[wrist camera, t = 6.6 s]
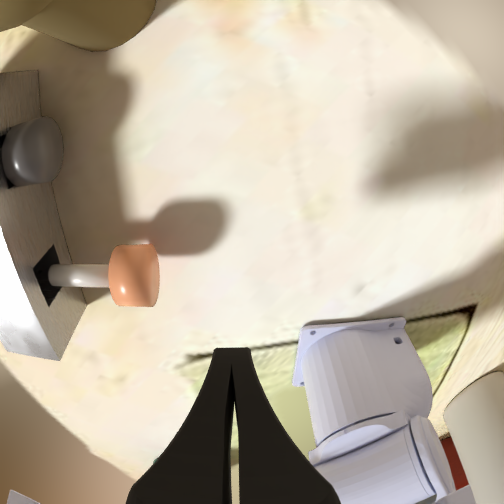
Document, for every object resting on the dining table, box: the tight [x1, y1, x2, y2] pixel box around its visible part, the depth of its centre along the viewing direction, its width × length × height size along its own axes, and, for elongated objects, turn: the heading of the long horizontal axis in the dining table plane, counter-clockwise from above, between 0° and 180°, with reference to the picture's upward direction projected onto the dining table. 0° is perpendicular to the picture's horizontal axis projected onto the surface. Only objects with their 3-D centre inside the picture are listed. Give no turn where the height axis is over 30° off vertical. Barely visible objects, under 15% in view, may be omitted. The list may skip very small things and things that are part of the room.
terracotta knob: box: [48, 244, 160, 307], centre depth 17 cm, size 7×4×4 cm, turn 90°
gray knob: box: [0, 116, 63, 187], centre depth 13 cm, size 7×4×4 cm, turn 90°
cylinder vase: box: [443, 371, 504, 504], centre depth 25 cm, size 12×12×25 cm
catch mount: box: [0, 70, 87, 361], centre depth 15 cm, size 6×18×6 cm, turn 0°
